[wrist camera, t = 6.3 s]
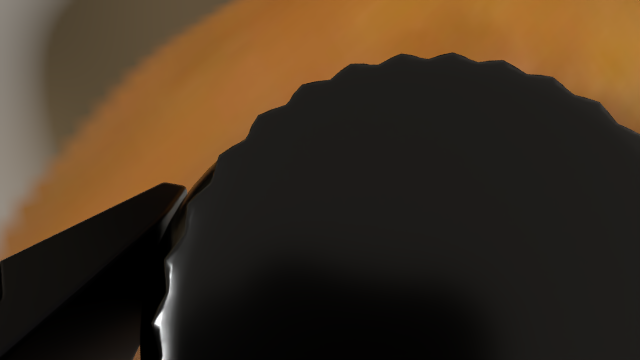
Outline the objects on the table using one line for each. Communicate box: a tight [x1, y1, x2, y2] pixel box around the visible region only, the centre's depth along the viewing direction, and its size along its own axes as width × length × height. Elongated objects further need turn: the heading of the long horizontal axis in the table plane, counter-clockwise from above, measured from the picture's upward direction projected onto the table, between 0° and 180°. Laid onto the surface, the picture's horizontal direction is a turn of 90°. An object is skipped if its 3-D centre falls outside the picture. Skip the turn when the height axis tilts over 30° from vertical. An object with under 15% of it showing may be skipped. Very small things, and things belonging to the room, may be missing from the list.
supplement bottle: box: [140, 52, 640, 360], centre depth 10 cm, size 7×7×12 cm
